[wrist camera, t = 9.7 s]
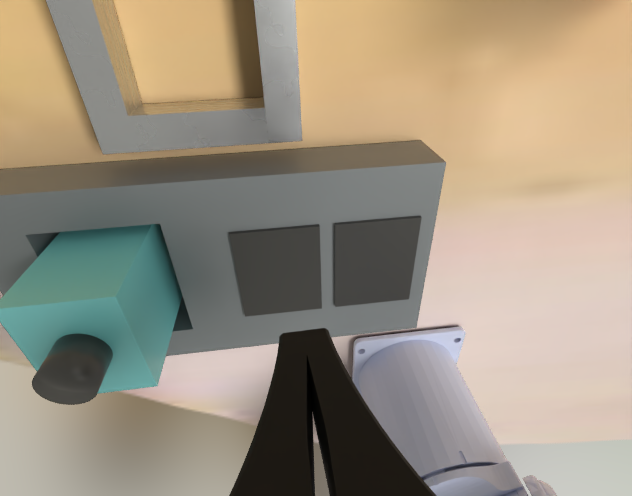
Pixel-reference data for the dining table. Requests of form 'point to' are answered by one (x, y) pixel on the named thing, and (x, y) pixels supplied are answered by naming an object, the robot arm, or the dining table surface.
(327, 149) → the switch box
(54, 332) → the plug
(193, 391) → the dining table surface
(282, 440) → the robot arm
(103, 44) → the grey rectangular frame
